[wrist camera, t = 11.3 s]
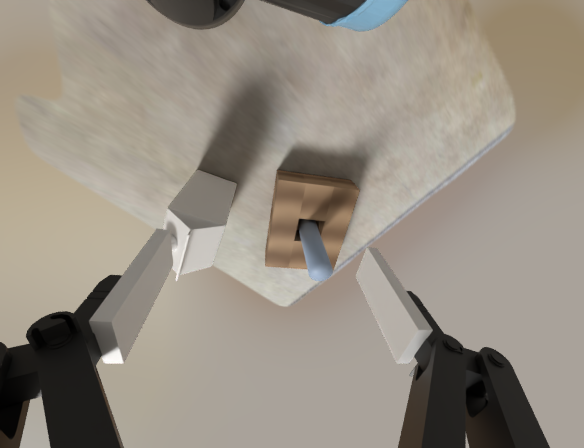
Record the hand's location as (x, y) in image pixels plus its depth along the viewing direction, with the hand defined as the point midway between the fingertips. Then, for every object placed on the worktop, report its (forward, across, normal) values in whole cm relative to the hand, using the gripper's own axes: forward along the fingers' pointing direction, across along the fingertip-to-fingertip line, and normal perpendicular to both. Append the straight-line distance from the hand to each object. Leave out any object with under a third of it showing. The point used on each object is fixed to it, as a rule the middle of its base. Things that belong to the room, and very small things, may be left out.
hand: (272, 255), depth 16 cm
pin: (+28, +9, -12) cm, 31 cm away
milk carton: (+29, -9, -9) cm, 32 cm away
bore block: (+29, +9, -12) cm, 32 cm away
